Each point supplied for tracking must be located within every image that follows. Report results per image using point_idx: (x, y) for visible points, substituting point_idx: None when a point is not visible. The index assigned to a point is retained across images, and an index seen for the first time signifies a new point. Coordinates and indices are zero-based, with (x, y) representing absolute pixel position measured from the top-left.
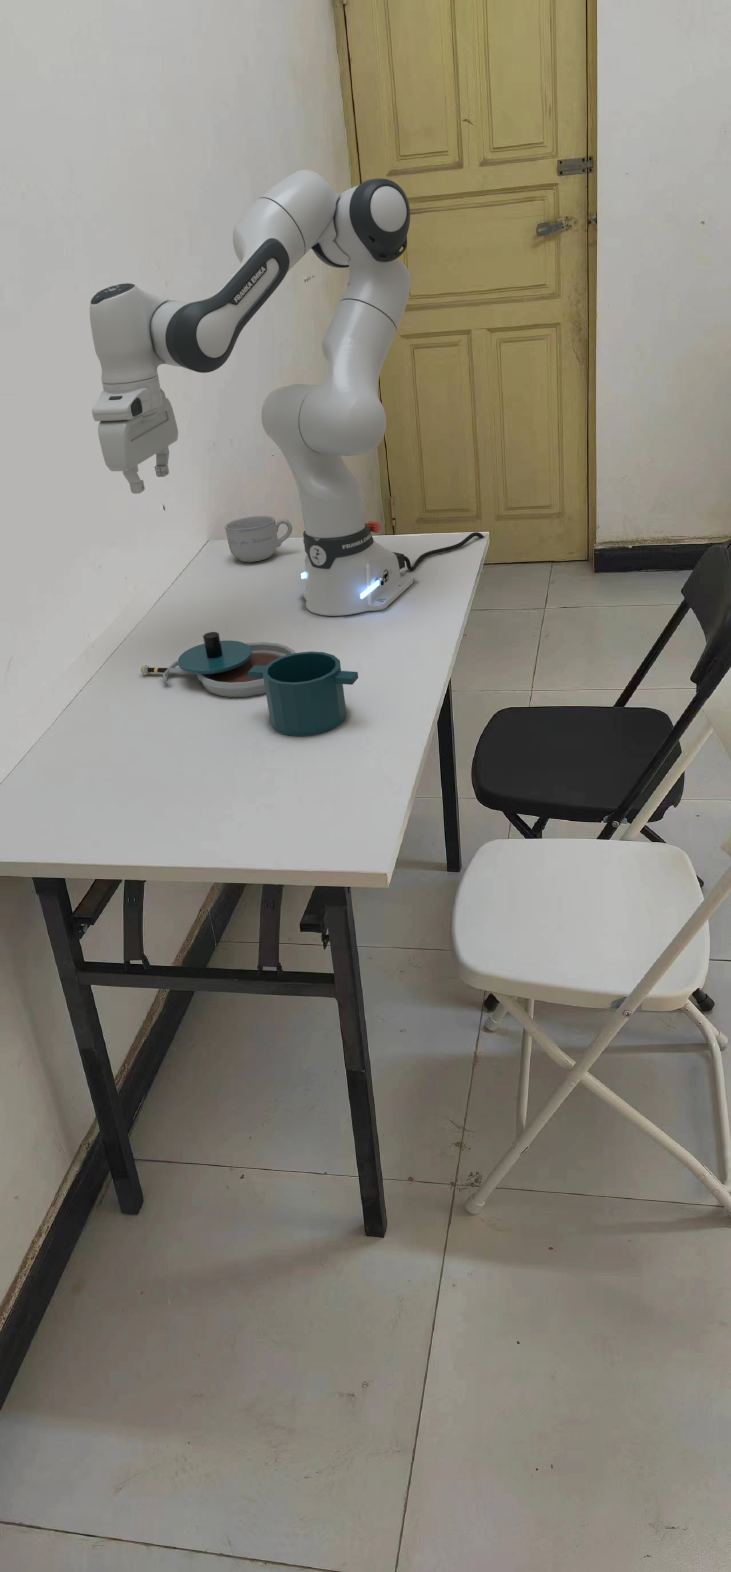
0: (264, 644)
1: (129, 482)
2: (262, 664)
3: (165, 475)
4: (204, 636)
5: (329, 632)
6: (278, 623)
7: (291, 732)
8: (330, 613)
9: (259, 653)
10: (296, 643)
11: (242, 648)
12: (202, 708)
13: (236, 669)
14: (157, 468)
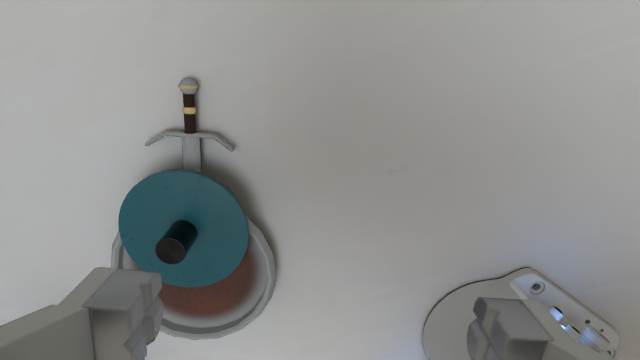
0: (266, 281)
1: (46, 312)
2: (214, 284)
3: (469, 347)
4: (162, 241)
5: (362, 334)
6: (409, 253)
7: None
8: (425, 329)
9: (254, 269)
10: (323, 298)
11: (214, 269)
12: (85, 223)
13: None
14: (498, 344)
